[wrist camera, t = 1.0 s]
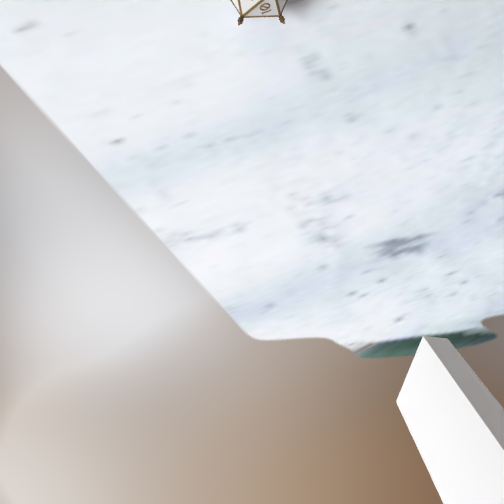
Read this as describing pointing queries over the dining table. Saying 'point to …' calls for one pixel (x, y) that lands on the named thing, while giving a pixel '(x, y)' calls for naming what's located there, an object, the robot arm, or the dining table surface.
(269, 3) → the game die
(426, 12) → the dining table surface
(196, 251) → the dining table surface
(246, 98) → the dining table surface
